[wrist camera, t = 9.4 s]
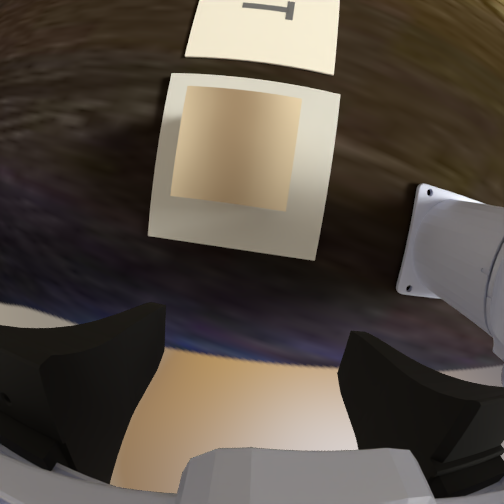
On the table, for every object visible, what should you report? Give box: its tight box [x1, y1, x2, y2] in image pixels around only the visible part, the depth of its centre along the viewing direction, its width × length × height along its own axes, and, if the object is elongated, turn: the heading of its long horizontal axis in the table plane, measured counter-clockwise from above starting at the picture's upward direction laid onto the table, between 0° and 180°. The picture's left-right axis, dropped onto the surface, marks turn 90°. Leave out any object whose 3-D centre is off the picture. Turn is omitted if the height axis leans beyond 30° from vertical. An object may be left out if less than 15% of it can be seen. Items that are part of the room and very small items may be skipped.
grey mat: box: [148, 73, 340, 261], centre depth 18 cm, size 11×11×1 cm
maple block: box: [170, 86, 302, 212], centre depth 15 cm, size 5×5×6 cm
